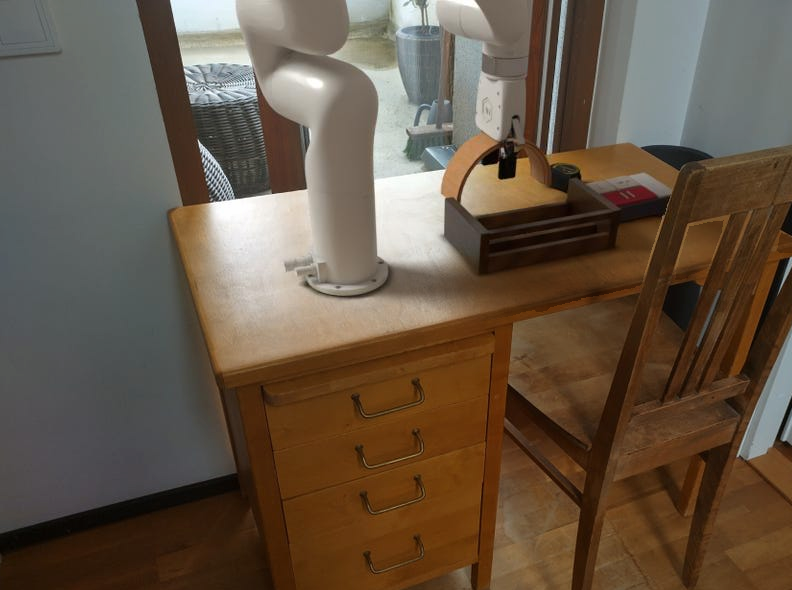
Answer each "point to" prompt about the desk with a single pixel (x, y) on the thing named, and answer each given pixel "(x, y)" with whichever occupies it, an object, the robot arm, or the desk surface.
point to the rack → (533, 230)
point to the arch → (476, 152)
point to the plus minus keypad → (634, 195)
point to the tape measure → (563, 175)
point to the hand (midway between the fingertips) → (498, 170)
